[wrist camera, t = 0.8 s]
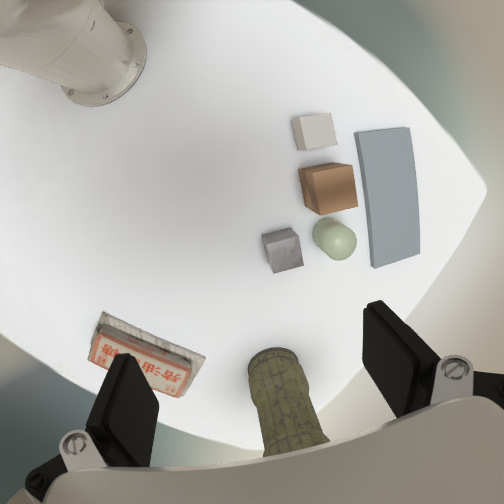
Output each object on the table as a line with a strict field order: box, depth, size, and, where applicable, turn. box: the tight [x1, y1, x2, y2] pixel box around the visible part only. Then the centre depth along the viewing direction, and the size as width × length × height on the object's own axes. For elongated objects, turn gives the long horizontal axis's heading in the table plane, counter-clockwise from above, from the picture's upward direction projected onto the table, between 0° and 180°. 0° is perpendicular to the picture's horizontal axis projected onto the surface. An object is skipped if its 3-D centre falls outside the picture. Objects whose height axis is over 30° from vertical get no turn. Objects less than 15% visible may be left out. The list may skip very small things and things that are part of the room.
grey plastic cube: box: [291, 113, 337, 150], centre depth 33 cm, size 4×4×4 cm
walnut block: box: [298, 163, 358, 215], centre depth 35 cm, size 5×5×6 cm
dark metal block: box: [262, 228, 304, 274], centre depth 38 cm, size 4×4×4 cm
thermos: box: [248, 348, 330, 457], centre depth 31 cm, size 9×12×35 cm
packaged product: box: [88, 312, 206, 398], centre depth 42 cm, size 18×5×10 cm
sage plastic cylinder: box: [312, 218, 357, 260], centre depth 38 cm, size 4×4×5 cm
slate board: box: [354, 128, 420, 269], centre depth 39 cm, size 20×9×1 cm, turn 13°
